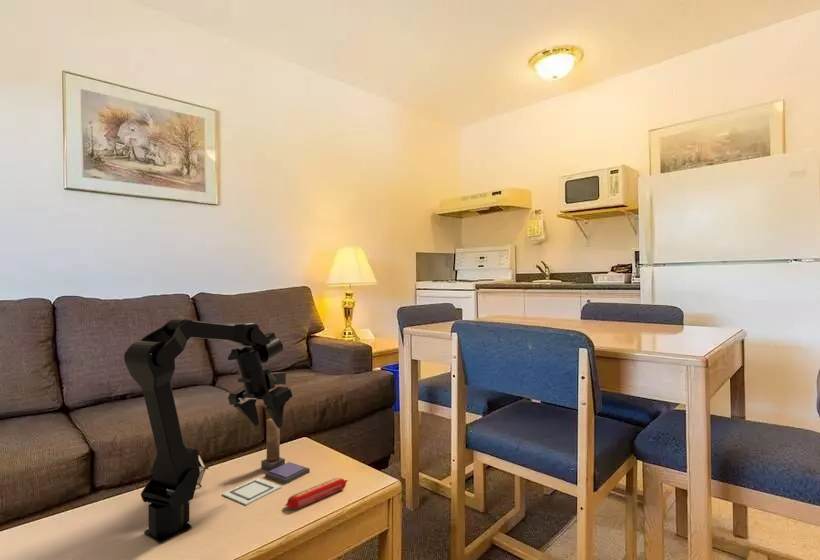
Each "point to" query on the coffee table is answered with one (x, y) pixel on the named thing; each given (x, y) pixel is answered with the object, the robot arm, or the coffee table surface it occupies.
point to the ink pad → (287, 472)
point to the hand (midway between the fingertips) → (268, 426)
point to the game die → (201, 470)
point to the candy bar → (316, 493)
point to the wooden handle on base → (272, 447)
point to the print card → (251, 491)
